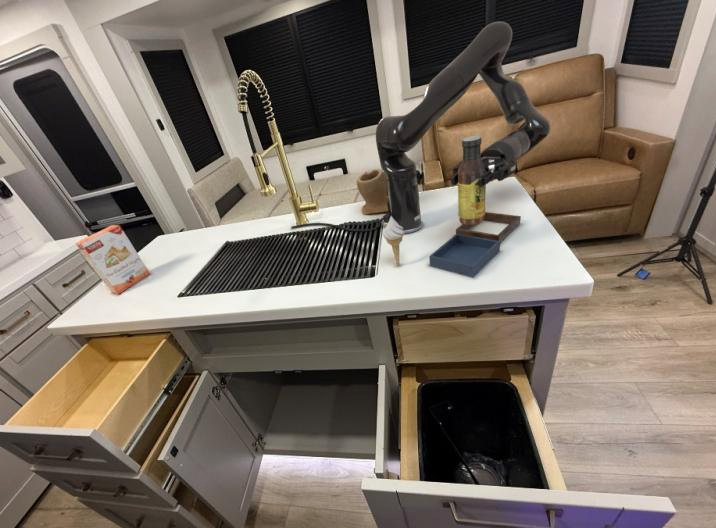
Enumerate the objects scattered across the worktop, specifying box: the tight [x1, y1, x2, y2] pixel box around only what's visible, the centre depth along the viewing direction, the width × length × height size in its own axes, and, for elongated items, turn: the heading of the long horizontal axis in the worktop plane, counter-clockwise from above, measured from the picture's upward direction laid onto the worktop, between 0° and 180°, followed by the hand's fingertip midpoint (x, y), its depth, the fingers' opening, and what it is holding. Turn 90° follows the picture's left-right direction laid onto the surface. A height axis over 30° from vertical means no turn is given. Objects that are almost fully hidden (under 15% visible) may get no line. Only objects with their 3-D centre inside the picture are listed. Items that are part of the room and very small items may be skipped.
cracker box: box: [75, 224, 151, 295], centre depth 123 cm, size 14×6×21 cm, turn 148°
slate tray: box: [428, 233, 501, 278], centre depth 88 cm, size 12×13×3 cm
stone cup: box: [356, 168, 389, 215], centre depth 123 cm, size 15×12×15 cm
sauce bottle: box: [457, 135, 487, 226], centre depth 81 cm, size 6×6×20 cm
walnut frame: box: [455, 211, 522, 244], centre depth 97 cm, size 13×13×2 cm
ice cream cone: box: [382, 216, 405, 267], centre depth 90 cm, size 6×6×15 cm
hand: (465, 181), depth 79 cm, fingers closed on sauce bottle, 6 cm apart
